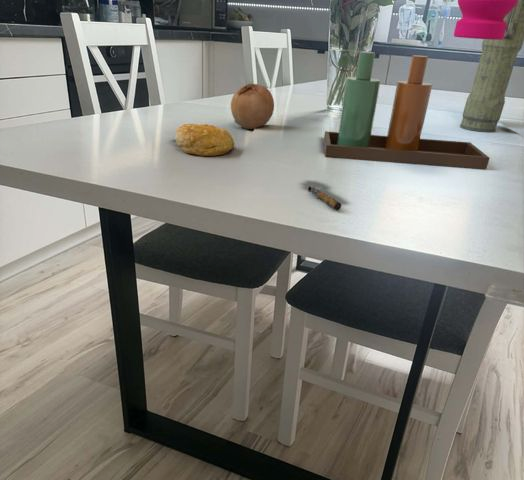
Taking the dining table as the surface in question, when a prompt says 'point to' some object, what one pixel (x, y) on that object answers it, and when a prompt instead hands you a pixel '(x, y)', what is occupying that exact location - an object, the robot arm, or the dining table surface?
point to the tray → (410, 152)
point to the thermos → (494, 75)
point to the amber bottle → (409, 108)
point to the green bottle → (359, 104)
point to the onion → (252, 106)
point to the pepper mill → (483, 18)
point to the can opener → (326, 198)
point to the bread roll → (204, 139)
